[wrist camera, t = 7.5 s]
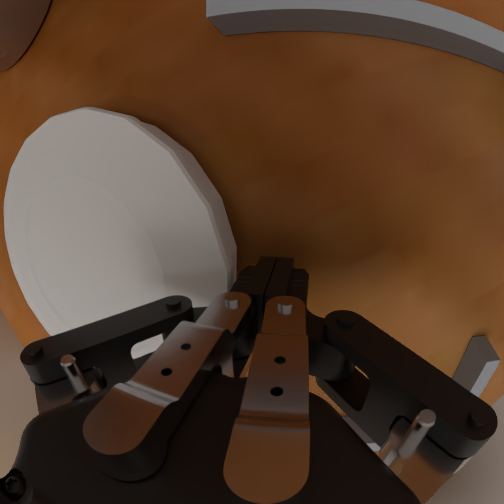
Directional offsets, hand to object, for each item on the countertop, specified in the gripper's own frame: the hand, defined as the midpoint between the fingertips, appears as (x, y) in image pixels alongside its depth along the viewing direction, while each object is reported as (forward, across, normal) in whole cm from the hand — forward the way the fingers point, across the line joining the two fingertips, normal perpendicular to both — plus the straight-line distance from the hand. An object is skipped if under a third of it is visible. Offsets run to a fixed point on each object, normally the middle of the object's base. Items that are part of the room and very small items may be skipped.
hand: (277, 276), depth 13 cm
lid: (+1, +10, +1) cm, 10 cm away
